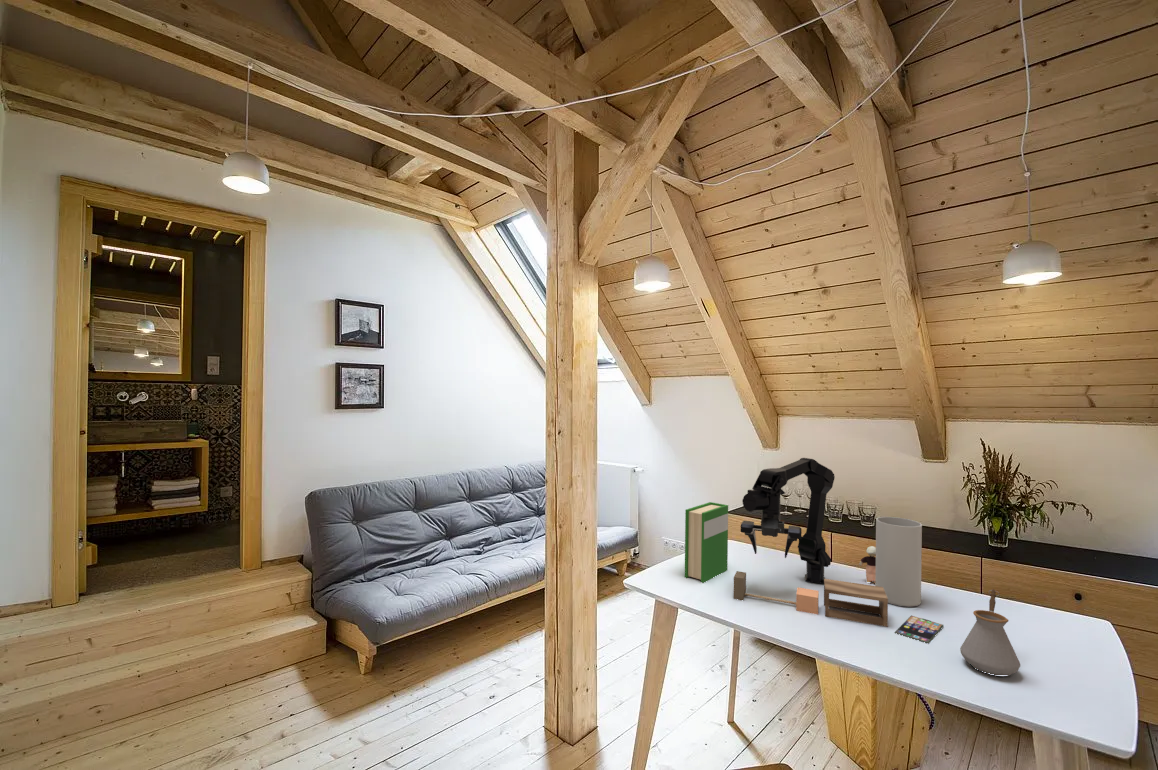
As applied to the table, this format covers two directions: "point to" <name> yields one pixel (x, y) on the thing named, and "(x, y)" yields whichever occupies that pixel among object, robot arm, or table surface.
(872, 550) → the grandmother figurine
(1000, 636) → the coffee pot
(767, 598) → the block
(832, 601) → the shelf lane
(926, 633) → the smartphone
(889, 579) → the cylinder vase
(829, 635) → the table surface
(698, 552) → the hardback book
